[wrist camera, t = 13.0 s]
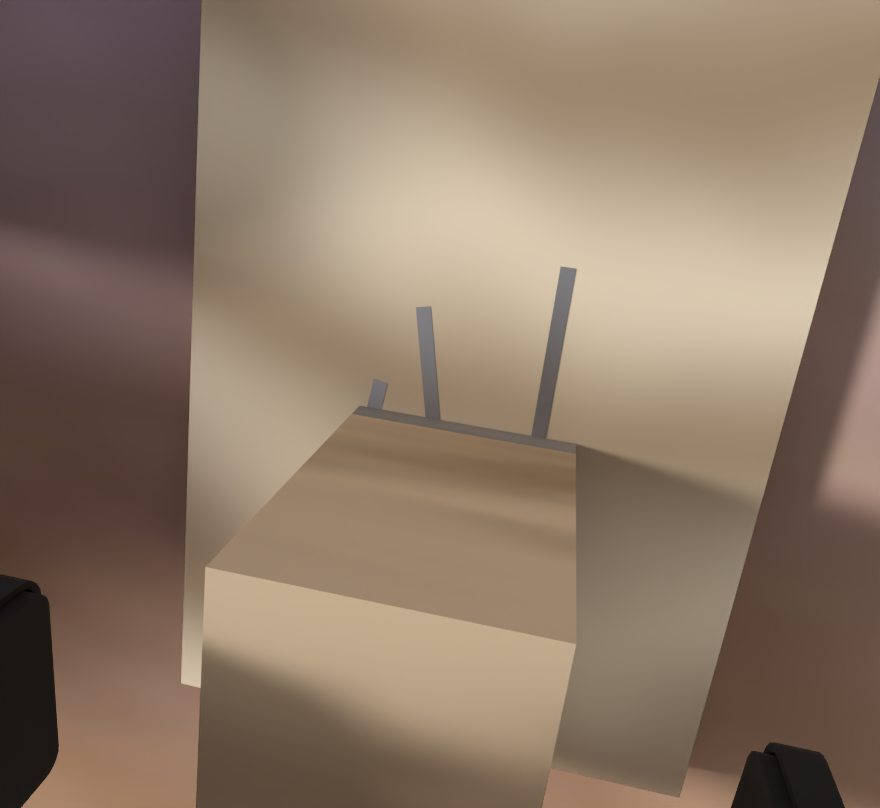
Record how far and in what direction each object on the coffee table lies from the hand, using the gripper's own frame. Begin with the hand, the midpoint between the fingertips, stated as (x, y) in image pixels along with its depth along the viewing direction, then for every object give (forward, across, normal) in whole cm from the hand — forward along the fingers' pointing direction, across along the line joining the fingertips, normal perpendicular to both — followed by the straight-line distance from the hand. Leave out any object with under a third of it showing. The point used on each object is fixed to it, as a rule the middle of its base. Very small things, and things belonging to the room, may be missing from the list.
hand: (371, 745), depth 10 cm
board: (+8, 0, -3) cm, 9 cm away
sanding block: (+7, 0, +2) cm, 7 cm away
